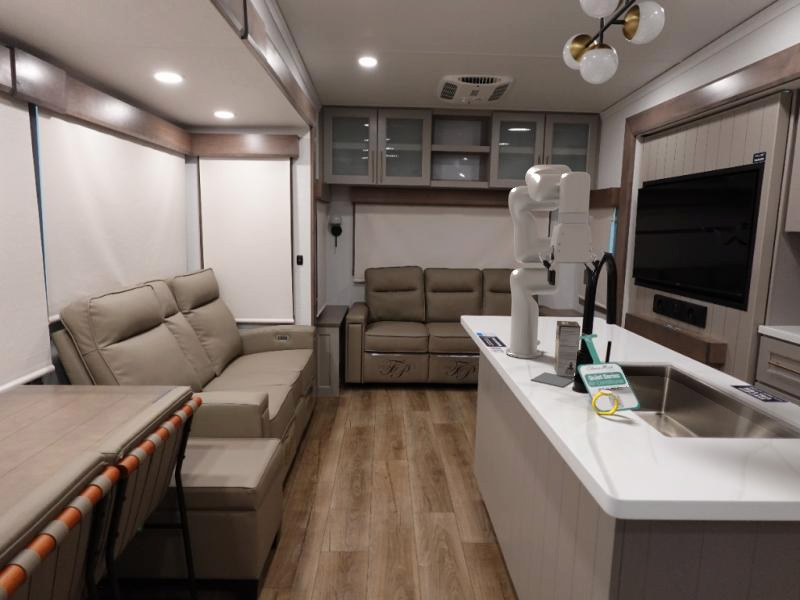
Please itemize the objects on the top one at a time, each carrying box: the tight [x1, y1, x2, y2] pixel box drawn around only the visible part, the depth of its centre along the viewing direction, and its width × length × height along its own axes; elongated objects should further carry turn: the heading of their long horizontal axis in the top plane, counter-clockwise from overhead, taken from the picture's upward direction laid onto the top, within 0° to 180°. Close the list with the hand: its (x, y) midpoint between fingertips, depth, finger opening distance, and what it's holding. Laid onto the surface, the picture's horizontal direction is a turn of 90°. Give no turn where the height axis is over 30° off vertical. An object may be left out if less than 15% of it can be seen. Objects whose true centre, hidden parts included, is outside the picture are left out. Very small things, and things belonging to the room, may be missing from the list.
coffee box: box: [553, 320, 581, 378], centre depth 156 cm, size 9×6×16 cm
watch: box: [591, 389, 619, 416], centre depth 123 cm, size 6×3×6 cm, turn 87°
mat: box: [530, 372, 574, 388], centre depth 150 cm, size 10×10×1 cm
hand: (569, 284), depth 133 cm, fingers open, 9 cm apart
